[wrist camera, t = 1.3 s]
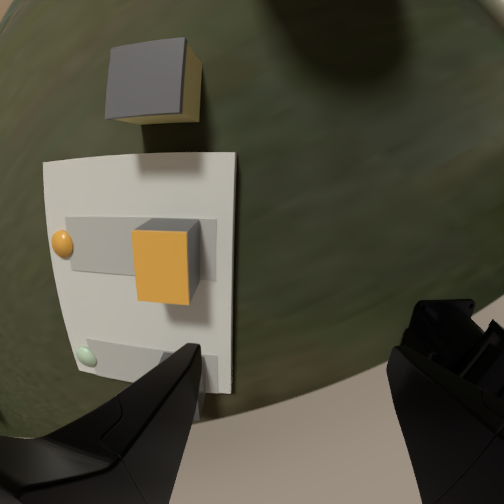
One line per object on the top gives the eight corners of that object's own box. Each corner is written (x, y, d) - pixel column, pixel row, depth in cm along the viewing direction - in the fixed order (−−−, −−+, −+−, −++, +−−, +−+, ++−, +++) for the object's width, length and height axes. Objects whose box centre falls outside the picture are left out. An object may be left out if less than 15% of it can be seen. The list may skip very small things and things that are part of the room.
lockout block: (203, 64, 17) (184, 37, 12) (200, 122, 18) (179, 112, 13) (144, 69, 17) (111, 48, 12) (140, 125, 18) (104, 118, 13)
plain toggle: (203, 356, 21) (196, 383, 18) (205, 394, 22) (199, 420, 20) (163, 352, 21) (152, 377, 18) (169, 389, 22) (160, 415, 20)
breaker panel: (236, 152, 18) (234, 152, 17) (232, 381, 24) (230, 396, 22) (54, 161, 19) (40, 162, 17) (85, 360, 24) (77, 371, 23)
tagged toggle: (199, 219, 18) (186, 232, 15) (199, 281, 19) (188, 305, 16) (152, 218, 18) (131, 231, 15) (155, 278, 19) (137, 300, 16)
